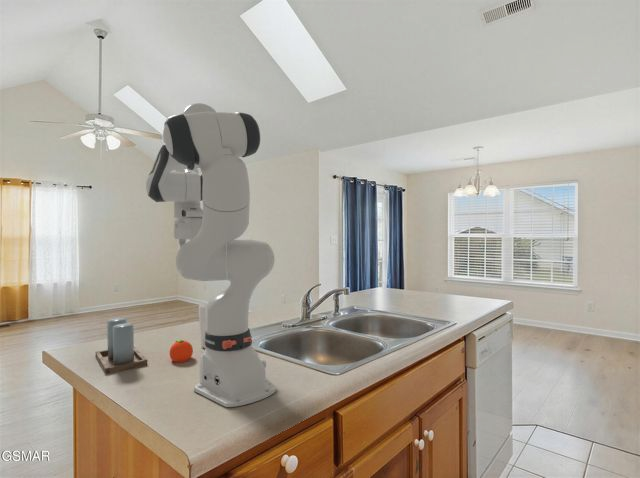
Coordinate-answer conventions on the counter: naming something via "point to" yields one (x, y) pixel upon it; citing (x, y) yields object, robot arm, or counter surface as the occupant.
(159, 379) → the counter surface
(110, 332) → the post
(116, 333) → the grey tall cylinder
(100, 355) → the tray
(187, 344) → the clementine
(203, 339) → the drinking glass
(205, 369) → the robot arm
